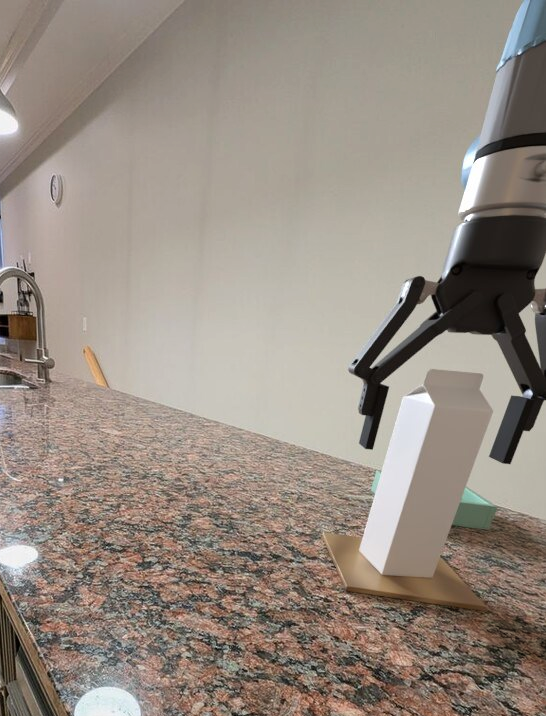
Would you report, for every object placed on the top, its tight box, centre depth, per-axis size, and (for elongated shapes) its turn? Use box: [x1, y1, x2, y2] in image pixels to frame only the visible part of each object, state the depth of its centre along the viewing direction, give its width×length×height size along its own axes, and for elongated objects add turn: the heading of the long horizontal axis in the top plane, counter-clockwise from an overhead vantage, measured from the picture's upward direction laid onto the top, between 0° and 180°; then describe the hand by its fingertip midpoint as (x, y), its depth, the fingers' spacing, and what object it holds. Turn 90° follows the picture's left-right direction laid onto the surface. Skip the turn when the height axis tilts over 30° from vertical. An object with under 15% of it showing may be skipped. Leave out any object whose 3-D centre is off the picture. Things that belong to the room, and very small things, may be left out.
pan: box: [370, 469, 498, 531], centre depth 74 cm, size 14×14×4 cm
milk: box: [359, 368, 494, 578], centre depth 49 cm, size 6×6×22 cm
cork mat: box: [321, 532, 488, 612], centre depth 53 cm, size 14×14×1 cm
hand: (431, 453), depth 48 cm, fingers open, 13 cm apart
